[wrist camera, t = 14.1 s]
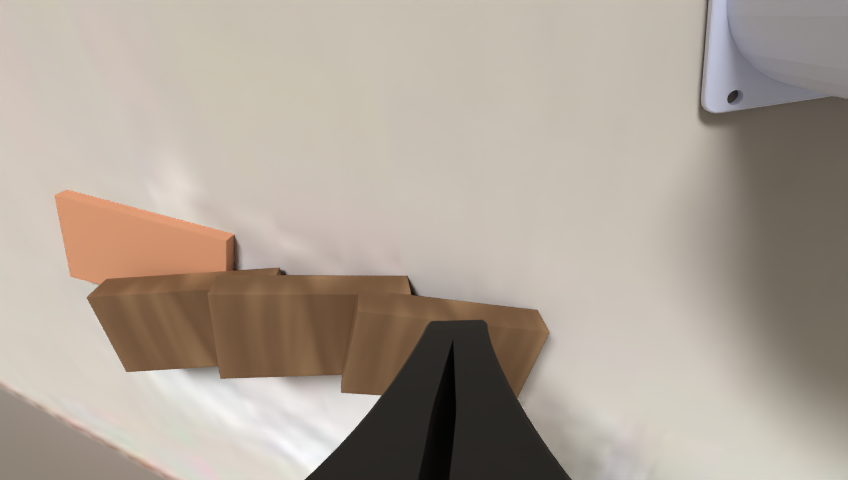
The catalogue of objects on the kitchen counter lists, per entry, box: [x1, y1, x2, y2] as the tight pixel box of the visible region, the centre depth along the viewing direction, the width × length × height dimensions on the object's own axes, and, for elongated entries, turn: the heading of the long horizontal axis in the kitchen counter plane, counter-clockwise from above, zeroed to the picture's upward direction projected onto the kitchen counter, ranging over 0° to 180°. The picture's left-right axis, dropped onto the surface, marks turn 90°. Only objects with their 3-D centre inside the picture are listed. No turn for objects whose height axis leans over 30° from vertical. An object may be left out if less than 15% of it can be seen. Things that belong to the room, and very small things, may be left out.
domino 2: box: [208, 275, 411, 379], centre depth 22 cm, size 2×5×9 cm
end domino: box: [55, 190, 234, 284], centre depth 24 cm, size 2×5×9 cm
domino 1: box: [87, 268, 281, 372], centre depth 23 cm, size 2×5×9 cm
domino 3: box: [341, 289, 549, 398], centre depth 22 cm, size 2×5×9 cm
